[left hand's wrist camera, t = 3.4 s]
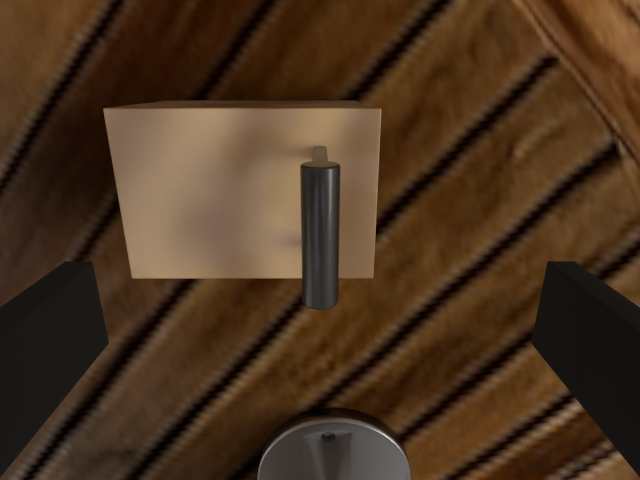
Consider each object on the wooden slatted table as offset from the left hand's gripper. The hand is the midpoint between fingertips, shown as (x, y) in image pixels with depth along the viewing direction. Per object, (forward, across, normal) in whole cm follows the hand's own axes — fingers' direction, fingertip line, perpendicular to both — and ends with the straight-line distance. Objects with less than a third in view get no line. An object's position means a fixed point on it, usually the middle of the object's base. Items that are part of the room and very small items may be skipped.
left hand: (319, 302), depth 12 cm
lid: (+13, +4, 0) cm, 14 cm away
